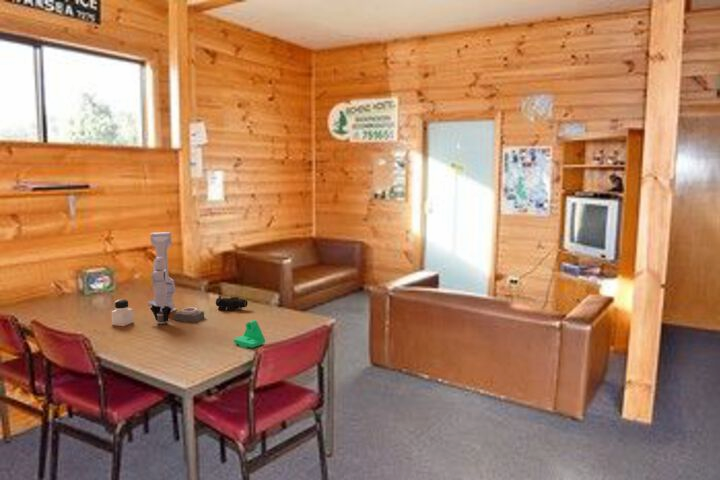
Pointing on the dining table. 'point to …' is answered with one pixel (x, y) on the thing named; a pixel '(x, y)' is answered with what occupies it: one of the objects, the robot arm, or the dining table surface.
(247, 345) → the camera mount
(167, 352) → the dining table surface
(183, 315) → the camera body
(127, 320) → the medicine bottle
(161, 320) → the lens
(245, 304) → the night vision scope
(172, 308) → the robot arm
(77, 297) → the dining table surface
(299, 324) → the dining table surface
